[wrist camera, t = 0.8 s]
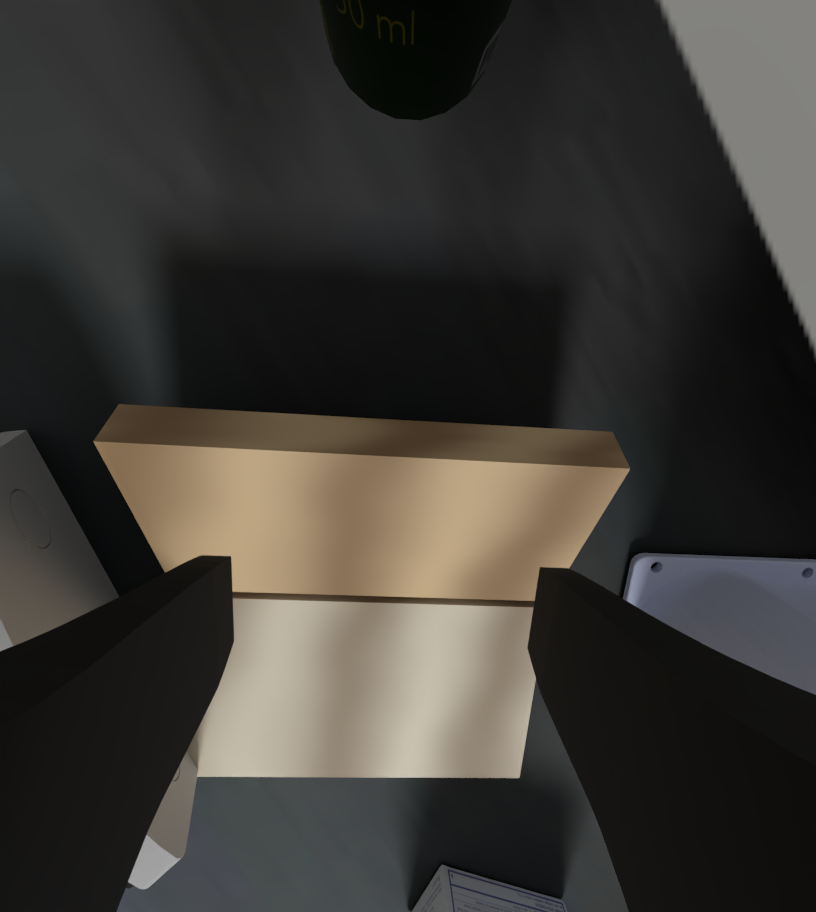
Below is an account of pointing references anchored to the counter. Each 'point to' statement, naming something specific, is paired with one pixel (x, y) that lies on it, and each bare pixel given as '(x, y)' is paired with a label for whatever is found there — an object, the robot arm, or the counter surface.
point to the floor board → (370, 689)
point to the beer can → (412, 50)
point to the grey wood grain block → (480, 895)
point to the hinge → (68, 609)
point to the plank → (361, 499)
